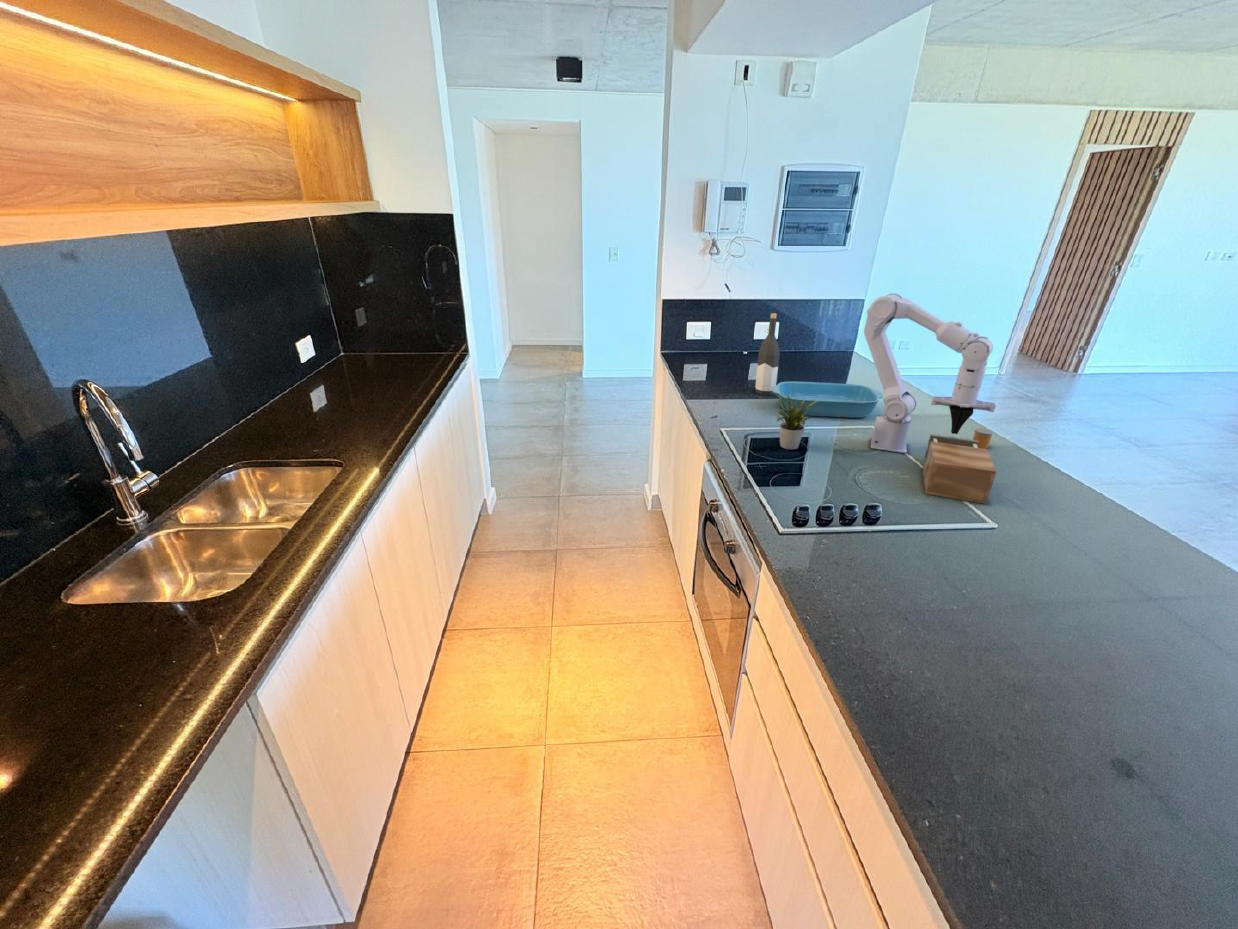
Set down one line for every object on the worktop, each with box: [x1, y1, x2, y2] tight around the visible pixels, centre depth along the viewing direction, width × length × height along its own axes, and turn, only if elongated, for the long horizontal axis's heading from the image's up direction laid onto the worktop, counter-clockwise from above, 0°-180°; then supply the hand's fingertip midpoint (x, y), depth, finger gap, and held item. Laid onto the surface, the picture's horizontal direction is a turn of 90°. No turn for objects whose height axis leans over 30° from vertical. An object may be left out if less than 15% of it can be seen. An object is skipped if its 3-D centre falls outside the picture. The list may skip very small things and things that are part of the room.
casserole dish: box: [772, 381, 884, 419], centre depth 187 cm, size 37×22×7 cm, turn 78°
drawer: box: [923, 433, 979, 459], centre depth 141 cm, size 18×11×7 cm, turn 155°
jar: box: [971, 427, 994, 449], centre depth 157 cm, size 5×5×5 cm
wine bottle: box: [754, 312, 781, 396], centre depth 202 cm, size 8×8×30 cm
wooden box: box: [922, 442, 997, 505], centre depth 132 cm, size 15×13×9 cm
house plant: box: [772, 393, 818, 450], centre depth 155 cm, size 14×14×16 cm
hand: (954, 432), depth 145 cm, fingers closed
